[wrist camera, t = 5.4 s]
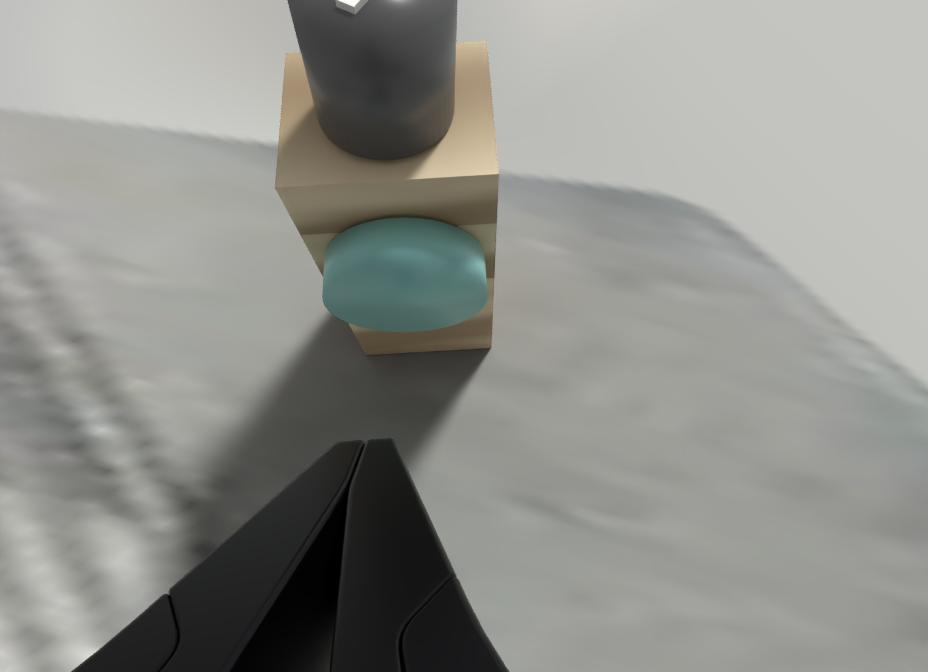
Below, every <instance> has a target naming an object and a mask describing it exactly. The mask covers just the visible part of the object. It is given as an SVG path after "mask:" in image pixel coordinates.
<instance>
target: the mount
mask: <svg viewBox="0 0 928 672" xmlns="http://www.w3.org/2000/svg"><path fill="white" fill-rule="evenodd" d="M496 149H497V148H496V138H495V127H494V115H493V104H492V94H491V82H490V71H489V61H488V49H487V41H478V42H463V43H456V68H455V106H454V116H453V120H452V123H451V125H450V127H449V129H448V130H447V132H446V133H445V134H444V136H443V137H442V138H441V139H440V140H439V141H438V142H437V143H436V144H434V145H433V146H431V147H430V148H428V149H427V150H425V151H423V152H421V153H418V154H416V155H413V156H410V157H406V158H402V159H395V160H373V159H367V158H363V157H359V156H356V155H353V154H351V153H348V152H346V151H344V150H343V149H341V148H339V147H338V146H337V145H335V144H334V143H333V142H332V141H331V140H330V139H328V137H327V136H326V135H325V133H324V132H323V130H322V128H321V127H320V124H319V121H318V118H317V114H316V110H315V106H314V102H313V99H312V95H311V91H310V87H309V83H308V79H307V75H306V71H305V67H304V63H303V59H302V55H301V53H286V57H285V69H284V82H283V94H282V107H281V121H280V132H279V144H278V156H277V169H276V181H275V189H276V190H277V192H278V194H279V196H280V198H281V200H282V202H283V203H284V205H285V207H286V209H287V211H288V213H289V215H290V216H291V218H292V220H293V222H294V224H295V226H296V227H297V229H298V231H299V233H300V235H301V237H302V239H303V240H304V242H305V244H306V246H307V248H308V250H309V252H310V253H311V255H312V257H313V259H314V261H315V263H316V265H317V266H318V268H319V270H320V272H321V274H322V276H323V272H324V254H325V250H326V248H327V246H328V245H329V243H330V242H331V241H332V240H333V239H334V238H335V237H336V236H337V235H339V234H340V233H342V232H343V231H345V230H347V229H349V228H351V227H354V226H357V225H359V224H362V223H366V222H370V221H374V220H380V219H388V218H421V219H429V220H434V221H439V222H443V223H446V224H450V225H453V226H455V227H458V228H460V229H462V230H464V231H466V232H467V233H469V234H470V235H472V236H473V237H474V238H475V239H476V240H477V241H478V242H479V243H480V245H481V246H482V248H483V251H484V255H485V267H486V280H487V294H488V297H487V302H486V304H485V306H484V307H483V308H482V310H480V311H479V312H478V313H477V314H476V315H474V316H473V317H471V318H469V319H467V320H465V321H463V322H461V323H458V324H455V325H452V326H449V327H445V328H440V329H435V330H429V331H420V332H387V331H378V330H372V329H367V328H363V327H359V326H356V325H353V324H350V323H348V324H349V326H350V327H351V329H352V331H353V333H354V335H355V337H356V339H357V340H358V342H359V344H360V346H361V348H362V350H363V352H364V353H365V355H379V354H396V353H413V352H429V351H446V350H463V349H480V348H491V341H492V318H493V295H494V272H495V250H496V227H497V204H498V181H499V170H498V159H497V150H496Z"/></svg>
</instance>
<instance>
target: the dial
mask: <svg viewBox="0 0 928 672" xmlns="http://www.w3.org/2000/svg"><path fill="white" fill-rule="evenodd" d="M288 4H289V8H290V12H291V16H292V20H293V23H294V28H295V32H296V36H297V39H298V44H299V47H300V51H301V55H302V59H303V63H304V67H305V71H306V75H307V79H308V83H309V87H310V91H311V95H312V99H313V102H314V106H315V110H316V114H317V118H318V121H319V124H320V127H321V128H322V130H323V132H324V133H325V135H326V136H327V137H328V139H330V140H331V141H332V142H333V143H334V144H335V145H337V146H338V147H339V148H341V149H343V150H344V151H346V152H348V153H351V154H353V155H356V156H359V157H363V158H367V159H373V160H395V159H402V158H406V157H410V156H413V155H416V154H418V153H421V152H423V151H425V150H427V149H428V148H430V147H431V146H433V145H434V144H436V143H437V142H438V141H439V140H440V139H441V138H442V137H443V136H444V134H445V133H446V132H447V130H448V129H449V127H450V125H451V123H452V120H453V116H454V106H455V68H456V30H457V0H288Z"/></svg>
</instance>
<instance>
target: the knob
mask: <svg viewBox="0 0 928 672" xmlns="http://www.w3.org/2000/svg"><path fill="white" fill-rule="evenodd" d="M487 297H488V294H487V280H486V267H485V255H484V251H483V248H482V246H481V245H480V243H479V242H478V241H477V240H476V239H475V238H474V237H473V236H472V235H470V234H469V233H467V232H466V231H464V230H462V229H460V228H458V227H455V226H453V225H450V224H446V223H443V222H439V221H434V220H429V219H421V218H388V219H380V220H374V221H370V222H366V223H362V224H359V225H357V226H354V227H351V228H349V229H347V230H345V231H343V232H342V233H340V234H339V235H337V236H336V237H335V238H334V239H333V240H332V241H331V242H330V243H329V245H328V246H327V248H326V250H325V254H324V272H323V302H324V305H325V307H326V308H327V309H328V311H330V312H331V313H332V314H333V315H334V316H336V317H337V318H339V319H341V320H343V321H345V322H347V323H350V324H353V325H356V326H359V327H363V328H367V329H372V330H378V331H387V332H420V331H429V330H435V329H440V328H445V327H449V326H452V325H455V324H458V323H461V322H463V321H465V320H467V319H469V318H471V317H473V316H474V315H476V314H477V313H478V312H479V311H480V310H482V308H483V307H484V306H485V304H486V302H487Z"/></svg>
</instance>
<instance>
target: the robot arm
mask: <svg viewBox="0 0 928 672" xmlns="http://www.w3.org/2000/svg"><path fill="white" fill-rule="evenodd" d="M71 672H509V670H508V669H507V668H506V666H505V664H504V663H503V661H502V660H501V658H500V656H499V655H498V653H497V651H496V650H495V648H494V647H493V645H492V643H491V642H490V640H489V638H488V637H487V635H486V634H485V632H484V630H483V628H482V626H481V624H480V623H479V621H478V619H477V617H476V615H475V613H474V611H473V609H472V607H471V605H470V603H469V601H468V599H467V597H466V595H465V593H464V590H463V588H462V586H461V584H460V582H459V580H458V579H457V578H456V574H455V572H454V570H453V567H452V565H451V563H450V561H449V559H448V556H447V554H446V552H445V550H444V548H443V546H442V543H441V541H440V539H439V537H438V535H437V532H436V530H435V528H434V526H433V524H432V522H431V519H430V517H429V515H428V513H427V511H426V508H425V506H424V504H423V502H422V500H421V498H420V495H419V493H418V491H417V489H416V487H415V484H414V482H413V480H412V478H411V476H410V474H409V471H408V469H407V467H406V465H405V463H404V461H403V458H402V456H401V454H400V452H399V450H398V447H397V445H396V443H395V441H394V440H393V439H390V438H389V439H373V440H368V441H366V443H365V442H364V441H362V440H356V441H340V442H337V443H335V444H334V445H333V446H332V447H331V448H329V449H328V450H327V451H326V452H325V453H324V454H323V455H322V456H320V457H319V458H318V459H317V460H316V461H315V462H314V463H312V464H311V465H310V466H309V467H308V468H307V469H306V470H304V471H303V472H302V473H301V474H300V475H299V476H298V477H297V478H295V479H294V480H293V481H292V482H291V483H290V484H289V485H287V486H286V487H285V488H284V489H283V490H282V491H281V492H279V493H278V494H277V495H276V496H275V497H274V498H273V499H272V500H270V501H269V502H268V503H267V504H266V505H265V506H264V507H262V508H261V509H260V510H259V511H258V512H257V513H256V514H255V515H253V516H252V517H251V518H250V519H249V520H248V521H247V522H245V523H244V524H243V525H242V526H241V527H240V528H239V529H237V530H236V531H235V532H234V533H233V534H232V535H231V536H230V537H228V538H227V539H226V540H225V541H224V542H223V543H222V544H220V545H219V546H218V547H217V548H216V549H215V550H214V551H212V552H211V553H210V554H209V555H208V556H207V557H206V558H205V559H203V560H202V561H201V562H200V563H199V564H198V565H197V566H195V567H194V568H193V569H192V570H191V571H190V572H189V573H187V574H186V575H185V576H184V577H183V578H182V579H181V580H180V581H178V582H177V583H176V584H175V585H174V586H173V587H172V588H170V590H169V595H168V594H164V595H162V596H161V597H160V598H159V599H158V600H157V601H155V602H154V603H153V604H152V605H151V606H150V607H149V608H147V609H146V610H145V611H144V612H143V613H142V614H141V615H139V616H138V617H137V618H136V619H135V620H134V621H132V622H131V623H130V624H129V625H128V626H126V627H125V628H124V629H123V630H122V631H121V632H119V633H118V634H117V635H116V636H115V637H113V638H112V639H111V640H110V641H109V642H108V643H106V644H105V645H104V646H103V647H102V648H100V649H99V650H98V651H97V652H96V653H94V654H93V655H92V656H90V657H89V658H88V659H87V660H85V661H84V662H83V663H82V664H80V665H79V666H78V667H77V668H75V669H74V670H73V671H71Z"/></svg>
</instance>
